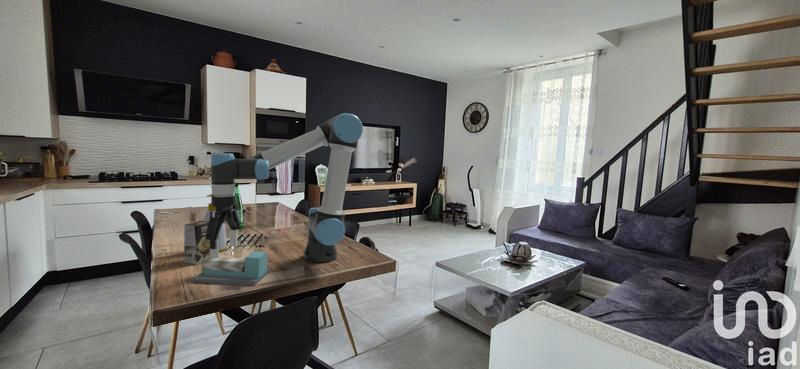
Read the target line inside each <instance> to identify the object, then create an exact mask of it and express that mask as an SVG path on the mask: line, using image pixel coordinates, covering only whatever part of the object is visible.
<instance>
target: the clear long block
mask: <svg viewBox="0 0 800 369" xmlns="http://www.w3.org/2000/svg"><path fill="white" fill-rule="evenodd" d="M205 270H212V271H230V272H245V258H238V257H237V258H234V257H233V258H232V257H220V256H219V257H218V258H210V257H206V258H204V259H202V263H201V273H204V271H205Z"/></svg>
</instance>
